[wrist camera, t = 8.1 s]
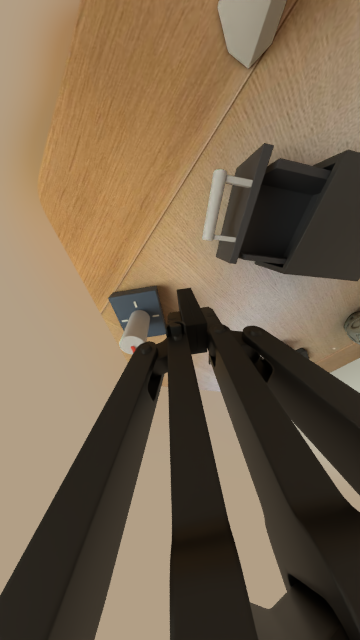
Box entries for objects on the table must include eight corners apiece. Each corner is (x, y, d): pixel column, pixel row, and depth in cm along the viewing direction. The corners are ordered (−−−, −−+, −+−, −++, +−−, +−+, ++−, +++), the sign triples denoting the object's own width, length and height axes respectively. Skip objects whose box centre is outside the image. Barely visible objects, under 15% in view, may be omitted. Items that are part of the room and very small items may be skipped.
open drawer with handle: (191, 254, 26) (199, 260, 20) (205, 161, 19) (223, 128, 13) (278, 264, 29) (308, 272, 23) (316, 185, 22) (372, 167, 16)
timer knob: (127, 311, 29) (114, 339, 22) (147, 308, 29) (140, 335, 22) (134, 327, 32) (124, 357, 24) (152, 324, 32) (148, 353, 24)
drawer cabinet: (254, 263, 29) (283, 273, 22) (288, 176, 22) (348, 149, 15) (313, 270, 31) (357, 281, 24) (362, 193, 24) (446, 176, 17)
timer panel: (112, 292, 30) (107, 298, 27) (156, 285, 30) (155, 290, 27) (130, 333, 36) (128, 340, 34) (166, 327, 36) (166, 334, 34)
